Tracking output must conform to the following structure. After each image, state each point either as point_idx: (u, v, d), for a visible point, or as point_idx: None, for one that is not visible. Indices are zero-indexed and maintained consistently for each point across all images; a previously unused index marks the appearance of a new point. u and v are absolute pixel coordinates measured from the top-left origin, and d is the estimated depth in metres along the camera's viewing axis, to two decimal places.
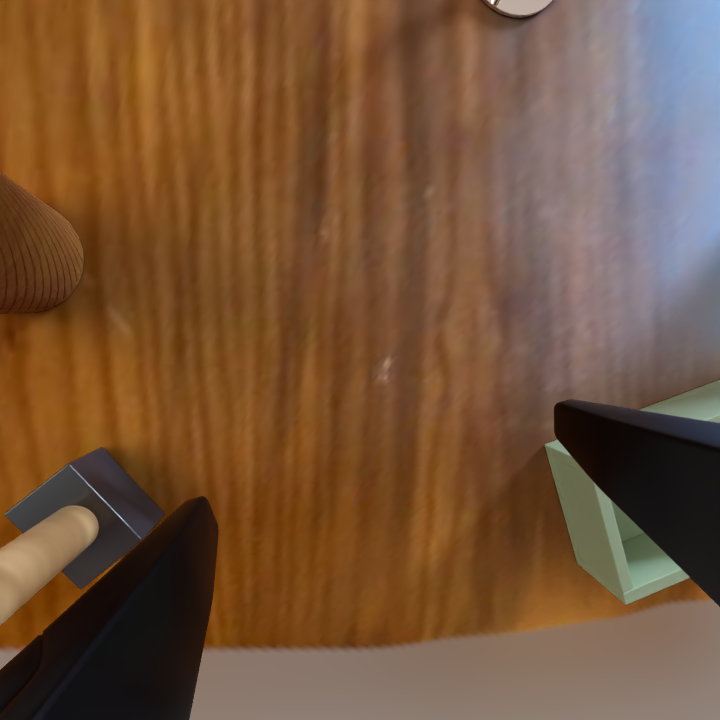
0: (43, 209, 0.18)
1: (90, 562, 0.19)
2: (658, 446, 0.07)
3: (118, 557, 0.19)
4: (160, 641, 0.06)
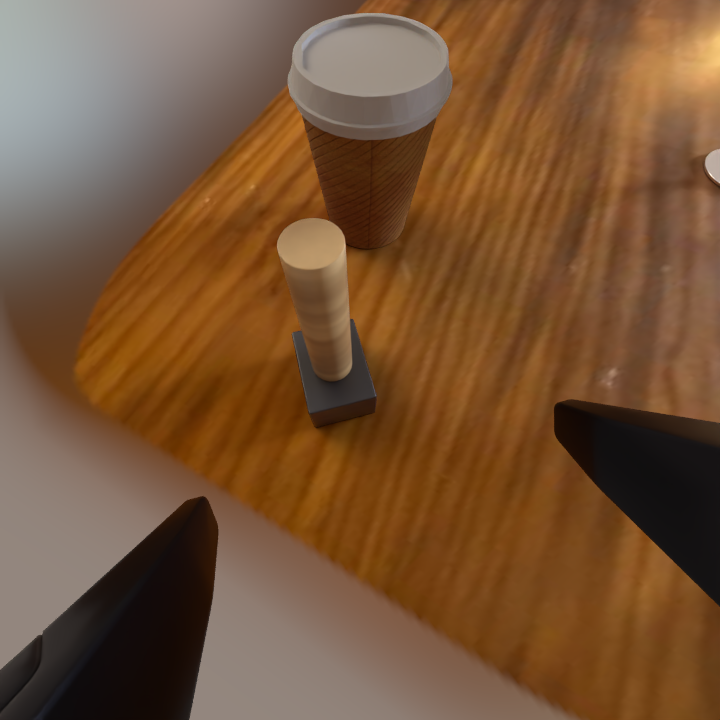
0: None
1: (329, 395, 0.21)
2: (658, 446, 0.07)
3: (352, 401, 0.21)
4: (160, 641, 0.06)
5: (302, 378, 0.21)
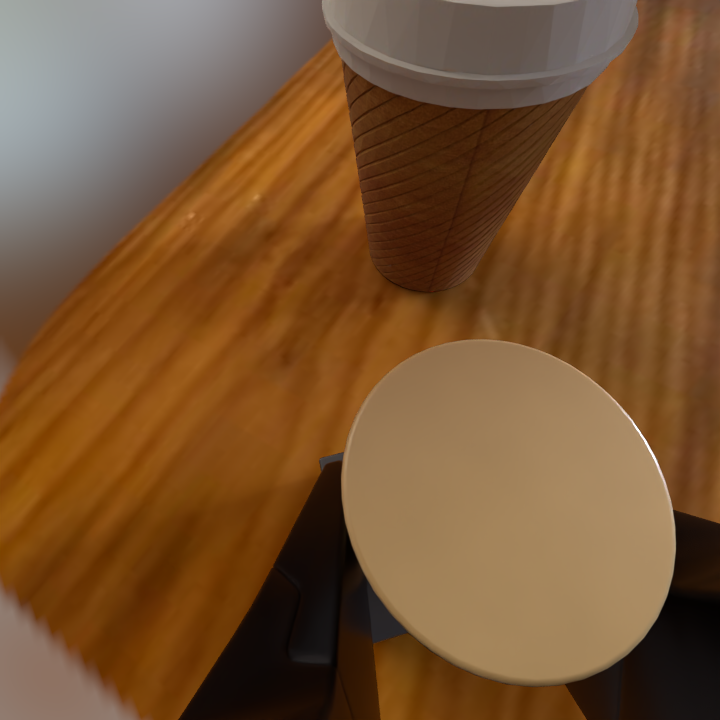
0: None
1: None
2: None
3: None
4: (357, 582, 0.06)
5: None
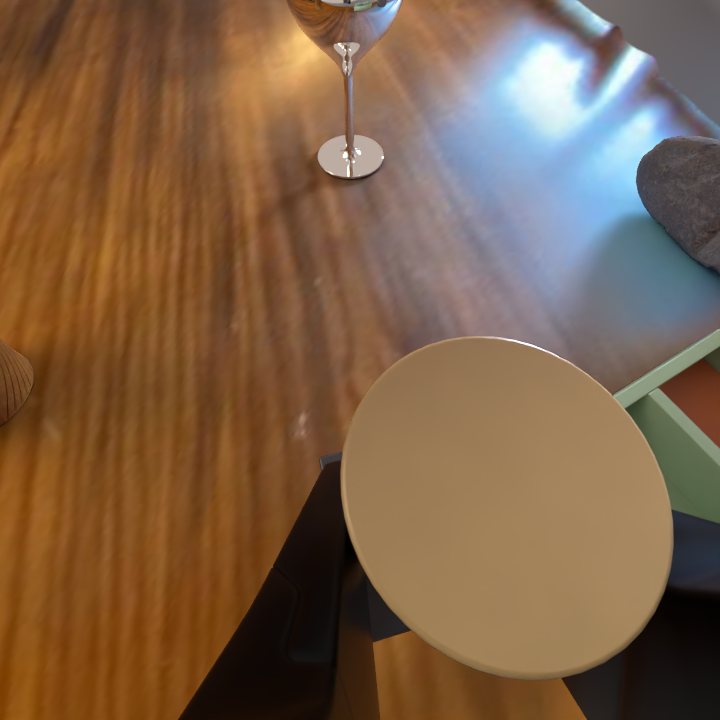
0: (0, 342, 0.23)
1: None
2: None
3: None
4: (357, 582, 0.06)
5: None
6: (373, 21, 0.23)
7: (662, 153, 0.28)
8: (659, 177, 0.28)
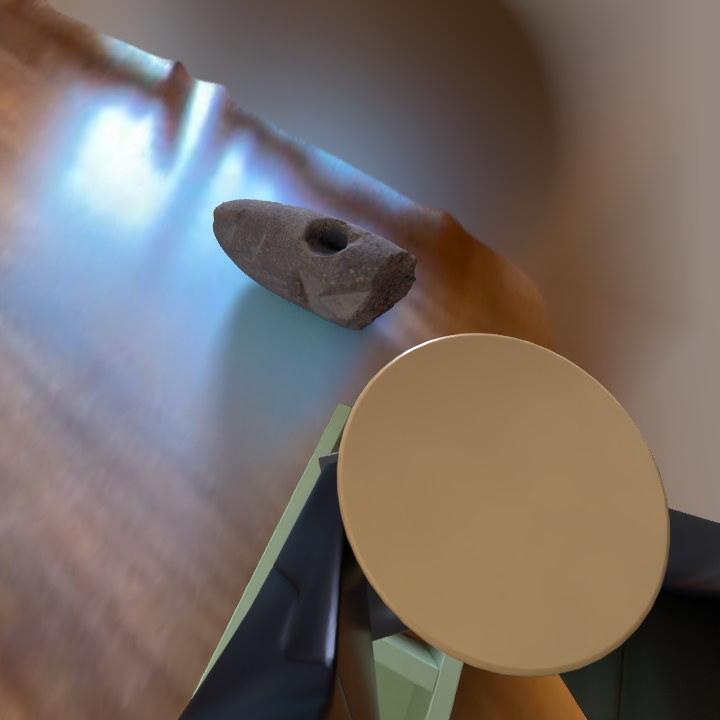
0: None
1: None
2: None
3: None
4: (356, 582, 0.06)
5: None
6: None
7: (217, 228, 0.24)
8: (230, 253, 0.24)
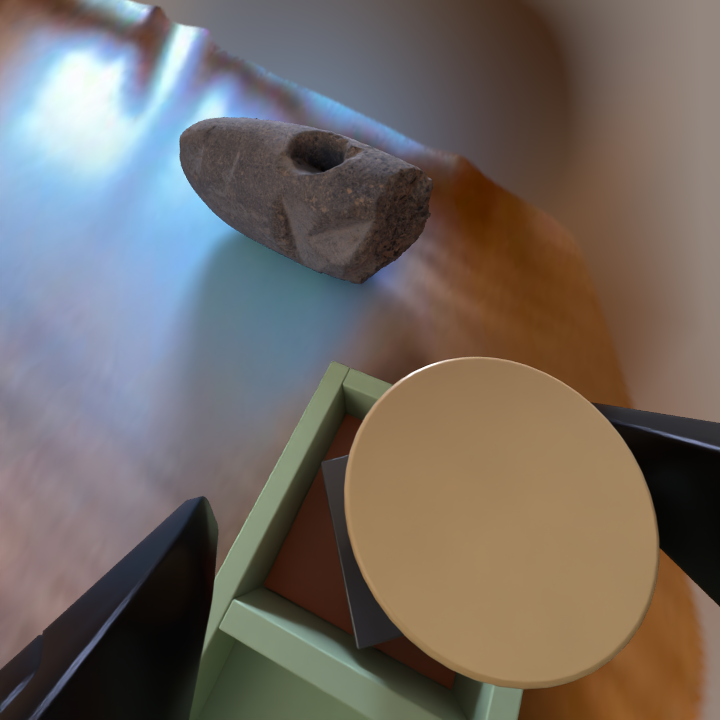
0: None
1: None
2: (658, 446, 0.07)
3: None
4: (160, 641, 0.06)
5: (341, 563, 0.11)
6: None
7: (183, 157, 0.20)
8: (200, 189, 0.20)
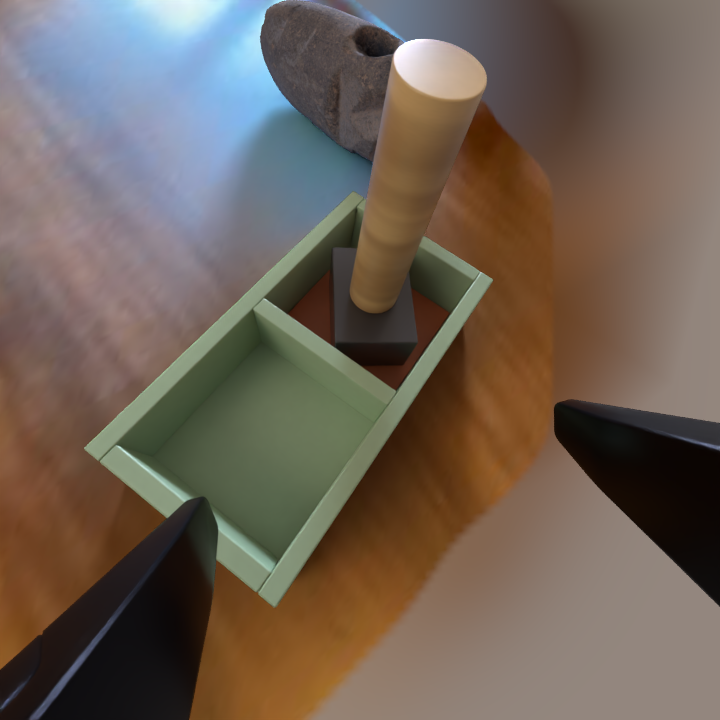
0: None
1: (363, 327, 0.17)
2: (658, 446, 0.07)
3: (388, 341, 0.17)
4: (160, 641, 0.06)
5: (334, 300, 0.18)
6: None
7: (266, 27, 0.24)
8: (273, 57, 0.25)
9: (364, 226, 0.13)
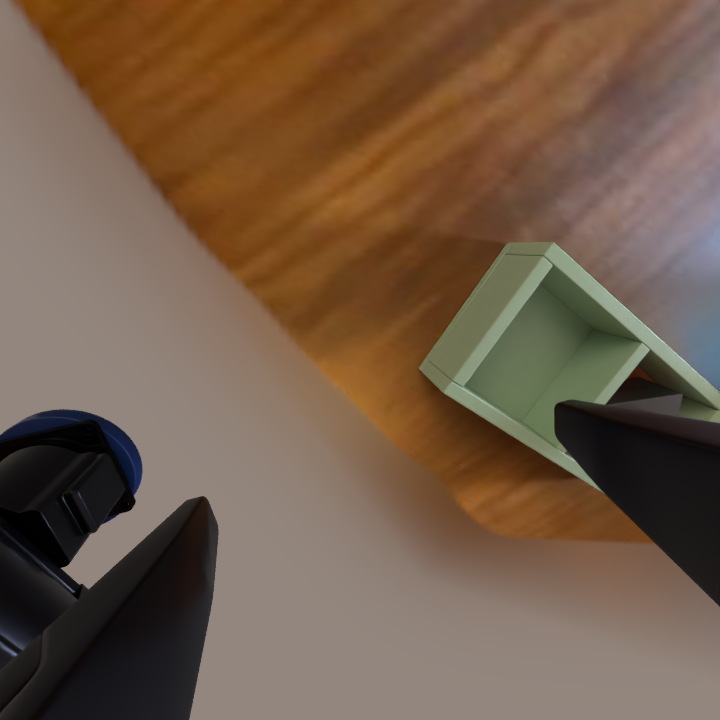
0: None
1: None
2: (658, 446, 0.07)
3: None
4: (160, 641, 0.06)
5: (637, 400, 0.22)
6: None
7: None
8: None
9: None
